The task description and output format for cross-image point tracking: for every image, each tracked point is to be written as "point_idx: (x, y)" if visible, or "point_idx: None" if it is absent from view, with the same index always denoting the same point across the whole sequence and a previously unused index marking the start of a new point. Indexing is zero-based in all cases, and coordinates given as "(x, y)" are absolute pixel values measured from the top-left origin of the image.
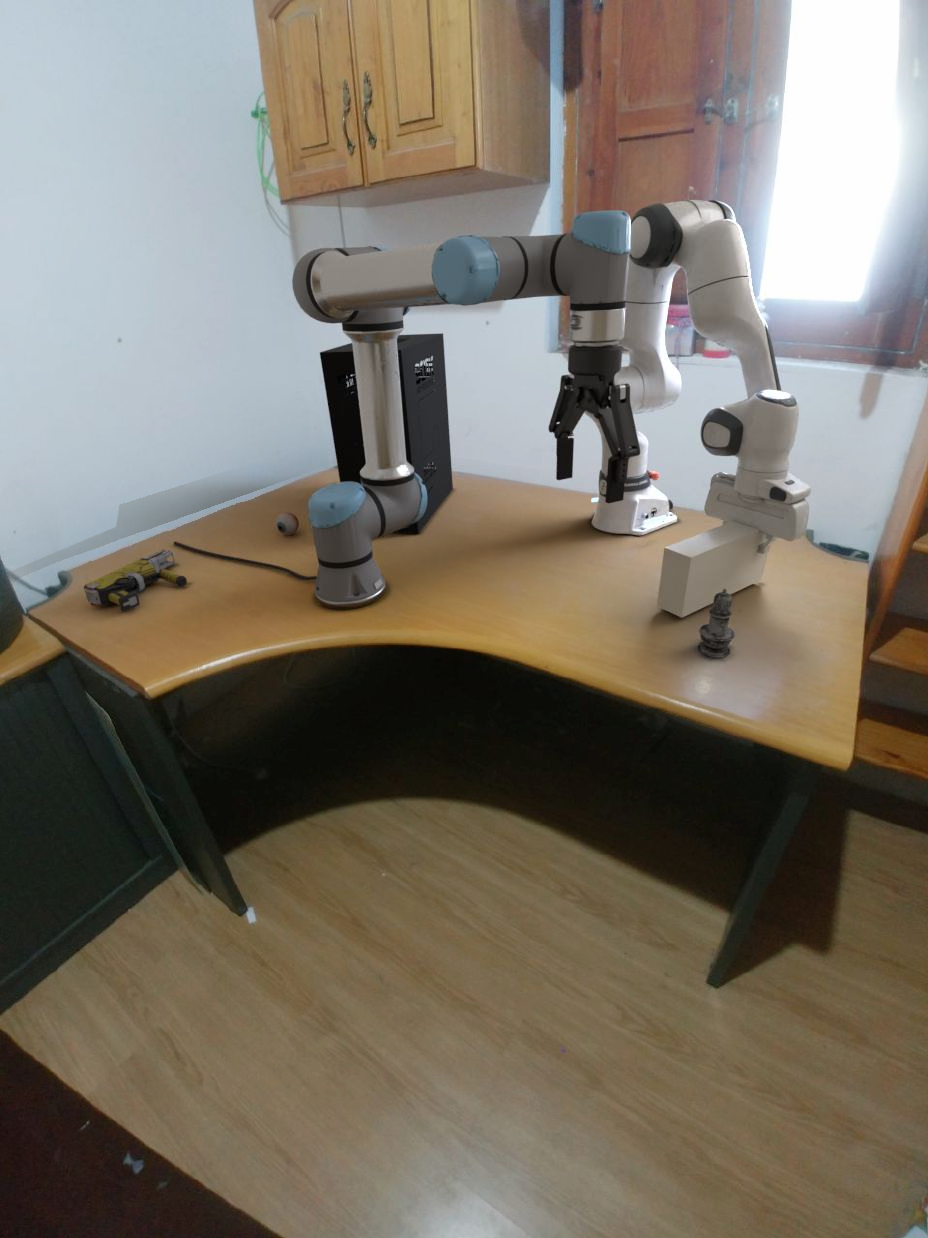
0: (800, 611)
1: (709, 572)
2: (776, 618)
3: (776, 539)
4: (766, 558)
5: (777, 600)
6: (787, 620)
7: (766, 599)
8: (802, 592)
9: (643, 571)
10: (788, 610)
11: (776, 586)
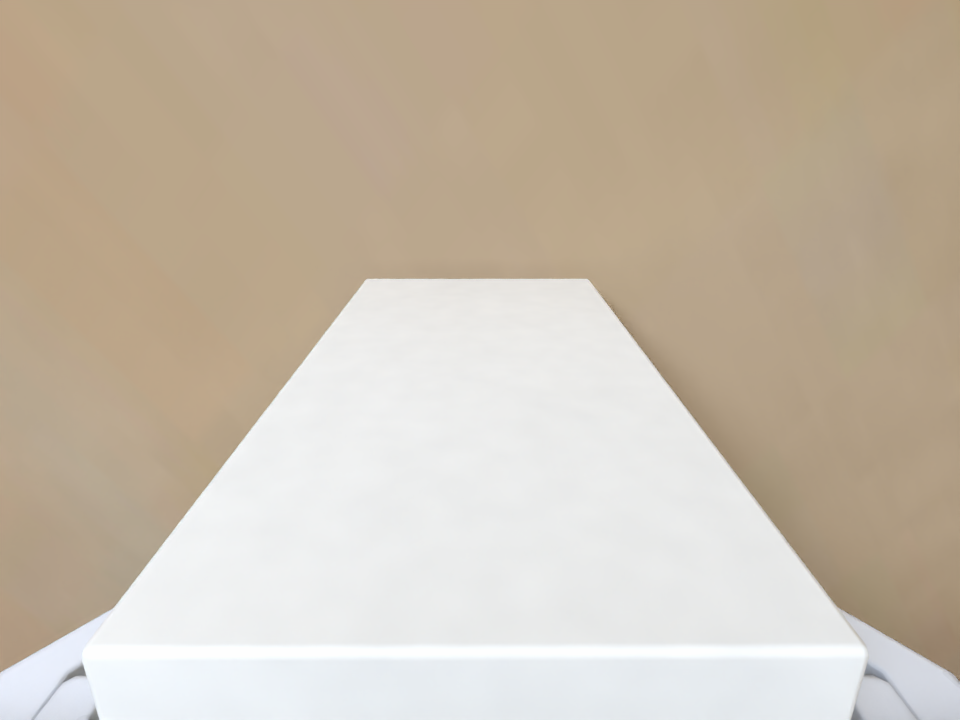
0: (936, 410)
1: None
2: (854, 565)
3: (916, 655)
4: (631, 336)
5: (773, 389)
6: (909, 544)
7: (716, 426)
8: (859, 154)
9: (17, 638)
10: (874, 449)
11: (676, 211)
